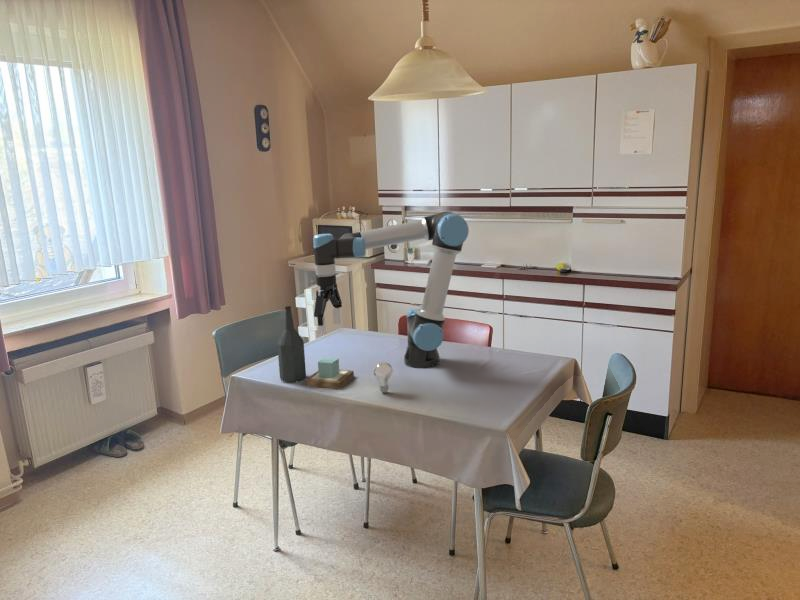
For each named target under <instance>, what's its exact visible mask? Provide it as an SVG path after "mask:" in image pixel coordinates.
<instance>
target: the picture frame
mask: <svg viewBox="0 0 800 600" xmlns="http://www.w3.org/2000/svg"><path fill="white" fill-rule="evenodd" d="M354 372H355V371H354V370H347V369H339V374H337V375H336V376H335V377H333V378H327V377H319V371H318V370H317V371H316V372H314V373H313V374H312V375H310V376H309V377H307V378H306V379H305V386H306V387H312V388H313V387H315V388H322V389H323V388H324V389H333V390H340V389H341V388H342V387H344V386H345V385H346V384H347V383H349V381H351V380H352V379H353V378H354V377H355V373H354Z"/></svg>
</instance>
